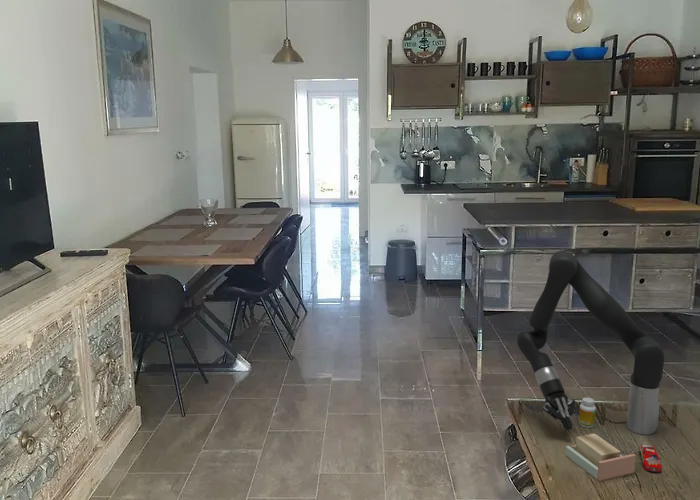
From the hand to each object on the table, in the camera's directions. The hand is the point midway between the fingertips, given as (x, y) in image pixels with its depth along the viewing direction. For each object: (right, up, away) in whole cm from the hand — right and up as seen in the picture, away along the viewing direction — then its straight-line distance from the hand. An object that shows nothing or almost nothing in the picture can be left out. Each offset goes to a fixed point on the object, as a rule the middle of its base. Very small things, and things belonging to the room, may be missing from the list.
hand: (569, 429), depth 205 cm
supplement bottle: (+11, -2, +13) cm, 17 cm away
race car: (+21, -8, -12) cm, 26 cm away
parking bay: (+5, -7, -12) cm, 15 cm away
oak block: (+4, -8, -12) cm, 15 cm away
